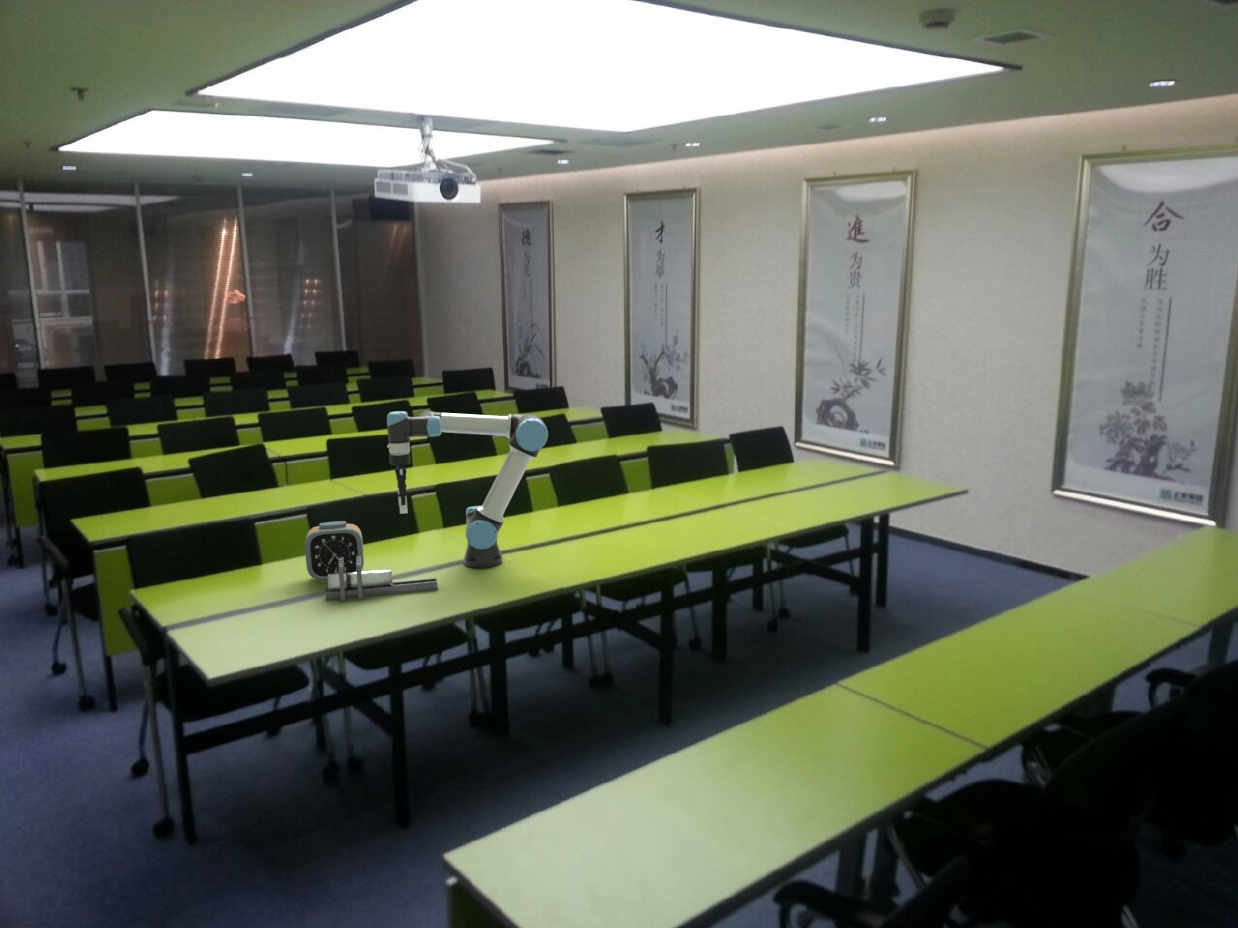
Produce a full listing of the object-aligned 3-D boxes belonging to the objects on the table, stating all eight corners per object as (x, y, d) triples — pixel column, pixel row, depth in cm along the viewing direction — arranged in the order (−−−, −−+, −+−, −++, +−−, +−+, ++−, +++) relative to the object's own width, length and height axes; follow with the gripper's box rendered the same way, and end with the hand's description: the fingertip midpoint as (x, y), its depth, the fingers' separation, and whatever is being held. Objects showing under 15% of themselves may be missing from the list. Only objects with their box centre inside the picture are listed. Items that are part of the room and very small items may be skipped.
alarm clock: (307, 585, 348) (303, 529, 344) (309, 577, 357) (304, 522, 353) (364, 579, 353) (360, 524, 349) (364, 572, 362) (360, 518, 358)
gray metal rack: (436, 582, 348) (434, 548, 346) (438, 592, 337) (436, 558, 334) (326, 593, 339) (324, 558, 336) (325, 604, 327) (322, 568, 324)
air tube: (392, 582, 341) (391, 566, 340) (392, 587, 335) (391, 571, 334) (329, 588, 335) (328, 571, 334) (328, 593, 330) (327, 576, 328)
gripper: (388, 448, 357) (391, 502, 361) (390, 460, 333) (393, 517, 337) (408, 447, 359) (411, 501, 363) (411, 458, 335) (415, 516, 339)
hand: (403, 509), depth 350 cm, fingers open, 13 cm apart
